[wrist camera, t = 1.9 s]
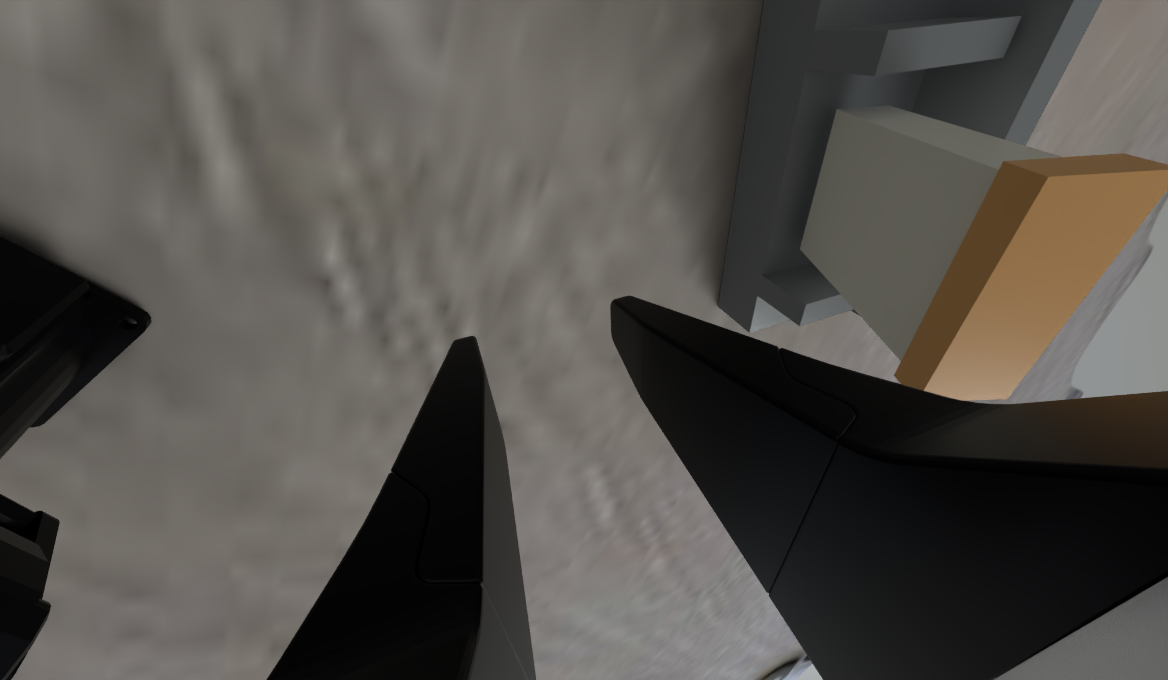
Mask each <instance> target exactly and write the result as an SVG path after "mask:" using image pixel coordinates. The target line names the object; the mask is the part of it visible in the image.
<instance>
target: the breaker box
mask: <svg viewBox="0 0 1168 680" xmlns="http://www.w3.org/2000/svg"><path fill="white" fill-rule="evenodd" d="M1101 2H1102V0H764V4H763V10H762V17H761V23H760V30H759V37H758V43H757V50H756V57H755V63H754V70H753V77H752V83H751V90H750V97H749V103H748V110H747V117H746V123H745V130H744V136H743V143H742V150H741V156H740V163H739V170H738V176H737V183H736V190H735V196H734V203H733V210H732V216H731V223H730V230H729V236H728V243H727V249H726V256H725V263H724V269H723V276H722V283H721V289H720V296H719V303H718V307H719V308H720V309H722V310H723V311H724V312H725V313H726V314H728V315H729V316H730V317H731V318H732V319H734V320H735V321H736V322H737V323H738V324H740V325H741V326H742V327H743V328H744V329H746V330H747V331H748V332H749V333H751V332H754V331H757V330H761V329H764V328H767V327H771V326H774V325H777V324H781V323H784V322H787V321H790V320H792V321H793V322H795V323H796V324H797V325H799V326H802V325H805V324H808V323H812V322H815V321H818V320H821V319H824V318H828V317H831V316H834V315H837V314H841V313H844V312H847V311H850V310H851V311H853V312H854V313H856V314H858V313H857V312H856V311H855V310H854V308H853V307H852V306H851V305H850V304H849V303H848V302H847V301H846V300H845V298H844V297H843V296H842V295H841V294H840V293H839V292H838V291H837V290H836V289H835V287H834V286H833V285H832V284H831V283H830V282H829V281H828V280H827V279H826V277H825V276H824V275H823V274H822V273H821V272H820V271H819V270H818V269H817V267H816V266H815V265H814V264H813V263H812V262H811V261H810V260H809V259H808V258H807V256H806V255H805V254H804V253H803V252H802V251H801V250H800V246H801V242H802V239H803V235H804V231H805V227H806V224H807V220H808V216H809V212H810V208H811V205H812V201H813V197H814V193H815V189H816V186H817V182H818V178H819V174H820V170H821V167H822V163H823V159H824V155H825V152H826V148H827V144H828V140H829V136H830V133H831V129H832V125H833V121H834V117H835V114H836V110H837V109H845V108H859V107H873V106H888V105H889V106H893V107H896V108H899V109H903V110H906V111H909V112H913V113H916V114H920V115H923V116H926V117H930V118H933V119H936V120H940V121H943V122H947V123H950V124H953V125H957V126H960V127H963V128H967V129H970V130H974V131H977V132H980V133H984V134H987V135H990V136H994V137H997V138H1001V139H1004V140H1007V141H1011V142H1014V143H1017V144H1021V145H1024V146H1025V145H1026V143H1027V141H1028V140H1029V138H1030V136H1031V134H1032V132H1033V130H1034V128H1035V126H1036V124H1037V123H1038V121H1039V119H1040V117H1041V115H1042V113H1043V111H1044V109H1045V107H1046V106H1047V104H1048V102H1049V100H1050V98H1051V96H1052V94H1053V92H1054V90H1055V88H1056V87H1057V85H1058V83H1059V81H1060V79H1061V77H1062V75H1063V73H1064V71H1065V70H1066V68H1067V66H1068V64H1069V62H1070V60H1071V58H1072V56H1073V54H1074V53H1075V51H1076V49H1077V47H1078V45H1079V43H1080V41H1081V39H1082V37H1083V36H1084V34H1085V32H1086V30H1087V28H1088V26H1089V24H1090V22H1091V20H1092V19H1093V17H1094V15H1095V13H1096V11H1097V9H1098V7H1099V5H1100V3H1101ZM858 315H859V314H858ZM859 316H860V315H859Z"/></svg>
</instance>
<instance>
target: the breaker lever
mask: <svg viewBox="0 0 1168 680" xmlns="http://www.w3.org/2000/svg"><path fill="white" fill-rule="evenodd" d="M1167 189H1168V165H1167V164H1163V163H1159V162H1155V161H1151V160H1147V159H1143V158H1139V157H1136V156H1132V155H1128V154H1108V155H1092V156H1076V157H1061V156H1058V155H1055V154H1051V153H1048V152H1044V151H1041V150H1038V149H1034V148H1031V147H1028V146H1024V145H1021V144H1017V143H1014V142H1011V141H1007V140H1004V139H1001V138H997V137H994V136H990V135H987V134H984V133H980V132H977V131H974V130H970V129H967V128H963V127H960V126H957V125H953V124H950V123H947V122H943V121H940V120H936V119H933V118H930V117H926V116H923V115H920V114H916V113H913V112H909V111H906V110H903V109H899V108H896V107H893V106H889V105H888V106H873V107H859V108H845V109H837V110H836V114H835V117H834V121H833V125H832V129H831V133H830V136H829V140H828V144H827V148H826V152H825V155H824V159H823V163H822V167H821V170H820V174H819V178H818V182H817V186H816V189H815V193H814V197H813V201H812V205H811V208H810V212H809V216H808V220H807V224H806V227H805V231H804V235H803V239H802V242H801V246H800V250H801V251H802V252H803V253H804V254H805V255H806V256H807V258H808V259H809V260H810V261H811V262H812V263H813V264H814V265H815V266H816V267H817V269H818V270H819V271H820V272H821V273H822V274H823V275H824V276H825V277H826V279H827V280H828V281H829V282H830V283H831V284H832V285H833V286H834V287H835V289H836V290H837V291H838V292H839V293H840V294H841V295H842V296H843V297H844V298H845V300H846V301H847V302H848V303H849V304H850V305H851V306H852V307H853V308H854V310H855V311H856V312H857V313H858V314H859V315H860V316H861V317H862V318H863V320H864V321H865V322H866V323H867V324H868V325H869V326H870V327H871V328H872V329H873V331H874V332H875V333H876V334H877V335H878V336H879V337H880V338H881V339H882V341H883V342H884V343H885V344H886V345H887V346H888V347H889V348H890V349H891V351H892V352H893V353H894V354H895V355H896V356H897V357H898V358H899V359H900V360H901V363H900V365H899V367H898V369H897V371H896V373H895V374H894V376H895V377H896V378H897V380H898V381H899V382H900V383H901V384H902V385H905V386H909V387H913V388H916V389H920V390H923V391H927V392H931V393H934V394H938V395H941V396H945V397H949V398H953V399H957V400H962V401H967V400H995V399H1008V398H1009V396H1010V395H1011V394H1012V392H1013V391H1014V390H1015V388H1016V387H1017V386H1018V384H1019V383H1020V382H1021V381H1022V379H1023V378H1024V377H1025V375H1026V374H1027V373H1028V371H1029V370H1030V369H1031V367H1032V366H1033V365H1034V364H1035V362H1036V361H1037V360H1038V358H1039V357H1040V356H1041V354H1042V353H1043V352H1044V350H1045V349H1046V348H1047V346H1048V345H1049V344H1050V343H1051V341H1052V340H1053V339H1054V337H1055V336H1056V335H1057V333H1058V332H1059V331H1060V329H1061V328H1062V327H1063V326H1064V324H1065V323H1066V322H1067V320H1068V319H1069V318H1070V316H1071V315H1072V314H1073V312H1074V311H1075V310H1076V308H1077V307H1078V306H1079V305H1080V303H1081V302H1082V301H1083V299H1084V298H1085V297H1086V295H1087V294H1088V293H1089V291H1090V290H1091V289H1092V288H1093V286H1094V285H1095V284H1096V282H1097V281H1098V280H1099V278H1100V277H1101V276H1102V274H1103V273H1104V272H1105V270H1106V269H1107V268H1108V267H1109V265H1110V264H1111V263H1112V261H1113V260H1114V259H1115V257H1116V256H1117V255H1118V253H1119V252H1120V251H1121V250H1122V248H1123V247H1124V246H1125V244H1126V243H1127V242H1128V240H1129V239H1130V238H1131V236H1132V235H1133V234H1134V232H1135V231H1136V230H1137V229H1138V227H1139V226H1140V225H1141V223H1142V222H1143V221H1144V219H1145V218H1146V217H1147V215H1148V214H1149V213H1150V212H1151V210H1152V209H1153V208H1154V206H1155V205H1156V204H1157V202H1158V201H1159V200H1160V198H1161V197H1162V196H1163V195H1164V193H1165V192H1166V191H1167Z"/></svg>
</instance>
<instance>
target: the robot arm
mask: <svg viewBox="0 0 1168 680" xmlns="http://www.w3.org/2000/svg"><path fill="white" fill-rule="evenodd" d="M610 309H611V334H612V339H613V342H614V344H615V346H616V348H617V350H618V352H619V354H620V356H621V358H622V360H623V363H624V365H625V367H626V369H627V371H628V373H629V375H630V377H631V379H632V381H633V383H634V385H635V387H636V389H637V391H638V393H639V395H640V397H641V399H642V400H643V402H644V404H645V405H646V407H647V408H648V410H649V412H650V413H651V415H652V416H653V418H654V419H655V421H656V422H657V424H658V425H659V427H660V428H661V430H662V432H663V433H664V435H665V436H666V438H667V439H668V441H669V442H670V444H671V445H672V447H673V449H674V450H675V452H676V453H677V455H678V456H679V458H680V459H681V461H682V462H683V464H684V465H685V467H686V469H687V470H688V472H689V473H690V475H691V476H692V478H693V479H694V481H695V482H696V484H697V486H698V487H699V489H700V490H701V492H702V493H703V495H704V496H705V498H706V499H707V501H708V502H709V504H710V506H711V507H712V509H713V510H714V512H715V513H716V515H717V516H718V518H719V519H720V521H721V522H722V524H723V526H724V527H725V529H726V530H727V532H728V533H729V535H730V536H731V538H732V539H733V541H734V543H735V544H736V546H737V547H738V549H739V550H740V552H741V553H742V555H743V556H744V558H745V559H746V561H747V563H748V564H749V566H750V567H751V569H752V570H753V572H754V573H755V575H756V576H757V578H758V580H759V581H760V583H761V584H762V586H763V587H764V589H765V590H766V592H767V593H769V597H770V598H771V600H772V602H773V603H774V605H775V606H776V608H777V609H778V611H779V612H780V614H781V615H782V617H783V619H784V620H785V622H786V623H787V625H788V626H789V628H790V629H791V631H792V632H793V634H794V635H795V637H796V639H797V640H798V642H799V643H800V645H801V646H802V648H803V649H804V651H805V652H806V654H807V656H808V657H809V659H810V660H811V662H812V663H813V665H814V666H815V668H816V669H817V671H818V672H819V674H820V675H821V677H822V679H823V680H1168V391H1165V392H1152V393H1140V394H1128V395H1116V396H1106V397H1105V396H1104V397H1092V398H1080V399H1069V400H1057V401H1045V402H1033V403H1021V404H985V403H975V402H968V401H962V400H957V399H953V398H949V397H945V396H941V395H938V394H934V393H931V392H927V391H923V390H920V389H916V388H913V387H909V386H905V385H902V384H898V383H895V382H891V381H887V380H884V379H880V378H877V377H873V376H869V375H866V374H862V373H859V372H855V371H852V370H849V369H845V368H842V367H838V366H835V365H831V364H828V363H825V362H822V361H819V360H816V359H813V358H810V357H807V356H804V355H801V354H798V353H795V352H792V351H789V350H786V349H784V348H780V349H779V348H778V347H777V346H775V345H772V344H769V343H766V342H763V341H760V340H757V339H754V338H751V337H749V336H746V335H743V334H740V333H737V332H734V331H731V330H728V329H725V328H723V327H720V326H717V325H714V324H711V323H708V322H705V321H702V320H699V319H696V318H694V317H691V316H688V315H685V314H682V313H679V312H676V311H673V310H670V309H668V308H665V307H662V306H659V305H656V304H653V303H650V302H647V301H644V300H642V299H639V298H636V297H633V296H625V297H621V298H617V299H614V300H613V301H612V302H611V307H610ZM123 317H128V318H131V319H133V320H135V321H136V322H137V324H132V323H129V322H127V321H126V320H124V318H123ZM150 324H151V317H150V315H149V314H148V313H147V312H146V311H144V310H143V309H141V308H139V307H137V306H135V305H133V304H131V303H129V302H127V301H125V300H123V299H121V298H119V297H117V296H115V295H113V294H111V293H110V292H108V291H106V290H104V289H102V288H100V287H98V286H96V285H94V284H92V283H90V282H88V281H86V280H84V279H83V278H81V277H79V276H77V275H75V274H73V273H72V272H70V271H68V270H66V269H64V268H62V267H60V266H58V265H56V264H54V263H52V262H50V261H48V260H46V259H44V258H42V257H40V256H38V255H36V254H34V253H32V252H30V251H28V250H26V249H24V248H22V247H20V246H18V245H16V244H14V243H12V242H10V241H8V240H6V239H4V238H2V237H0V459H1V458H2V457H3V456H4V454H5V453H6V452H7V451H8V450H9V449H10V448H11V447H12V446H13V445H14V444H15V442H16V441H17V440H18V439H19V438H20V437H21V436H22V435H23V434H24V433H25V432H26V430H27V429H28V428H29V427H37V426H41V425H42V424H44V423H45V422H46V421H48V420H49V419H50V418H51V417H52V416H53V415H54V414H55V413H56V412H57V411H58V410H60V409H61V408H62V407H63V406H64V405H65V404H66V403H67V402H68V401H69V400H70V399H71V398H73V397H74V396H75V395H76V394H77V393H78V392H79V391H80V390H81V389H82V388H83V387H85V386H86V385H87V384H88V383H89V382H90V381H91V380H92V379H93V378H94V377H95V376H97V375H98V374H99V373H100V372H101V371H102V370H103V369H104V368H105V367H106V366H107V365H108V364H110V363H111V362H112V361H113V360H114V359H115V358H116V357H117V356H118V355H119V354H120V353H122V352H123V351H124V350H125V349H126V348H127V347H128V346H129V345H130V344H131V343H132V342H134V341H135V340H136V339H137V338H138V337H139V336H140V335H141V334H142V333H143V332H144V331H145V330H146V329H147V328H148V327H149V325H150ZM391 472H392V473H389V474H388V476H387V479H386V481H385V483H384V485H383V487H382V489H381V491H380V493H379V495H378V497H377V499H376V501H375V503H374V504H373V506H372V508H371V510H370V512H369V514H368V516H367V518H366V520H365V522H364V524H363V525H362V527H361V529H360V530H359V532H358V534H357V535H356V537H355V539H354V540H353V542H352V544H351V546H350V547H349V549H348V551H347V552H346V554H345V556H344V557H343V559H342V561H341V562H340V564H339V566H338V567H337V569H336V570H335V572H334V574H333V575H332V577H331V578H330V580H329V582H328V583H327V585H326V586H325V588H324V590H323V591H322V593H321V594H320V596H319V598H318V599H317V601H316V602H315V604H314V606H313V607H312V609H311V610H310V612H309V613H308V615H307V617H306V618H305V620H304V621H303V623H302V625H301V626H300V628H299V629H298V631H297V633H296V634H295V636H294V637H293V639H292V641H291V642H290V644H289V645H288V647H287V649H286V650H285V652H284V653H283V655H282V657H281V658H280V660H279V661H278V663H277V664H276V666H275V667H274V669H273V671H272V672H271V674H270V675H269V677H268V678H267V680H536V675H535V667H534V659H533V652H532V644H531V637H530V629H529V622H528V614H527V607H526V599H525V591H524V584H523V576H522V569H521V561H520V554H519V546H518V539H517V531H516V524H515V516H514V508H513V501H512V493H511V486H510V478H509V471H508V463H507V456H506V449H505V443H504V438H503V434H502V430H501V426H500V423H499V419H498V415H497V412H496V408H495V404H494V401H493V397H492V393H491V390H490V386H489V382H488V379H487V375H486V371H485V368H484V364H483V361H482V357H481V354H480V350H479V346H478V343H477V339H476V337H475V336H469V337H465V338H461V339H457V340H455V341H454V342H453V343H452V345H451V347H450V349H449V351H448V353H447V355H446V358H445V360H444V362H443V364H442V366H441V368H440V370H439V372H438V374H437V376H436V378H435V380H434V382H433V384H432V386H431V388H430V391H429V393H428V395H427V397H426V399H425V401H424V403H423V405H422V407H421V409H420V411H419V413H418V415H417V417H416V419H415V421H414V423H413V426H412V428H411V430H410V432H409V434H408V436H407V438H406V440H405V442H404V444H403V446H402V448H401V450H400V452H399V454H398V456H397V459H396V461H395V463H394V465H393V467H392V469H391ZM59 523H60V522H59V520H58V519H56V518H54V517H52V516H50V515H48V514H47V513H45V512H43V511H37V512H33V511H31V510H30V509H28V508H26V507H24V506H22V505H20V504H18V503H16V502H15V501H13V500H11V499H9V498H7V497H5V496H3V495H2V494H0V680H11V679H12V678H13V676H14V675H15V673H16V671H17V670H18V668H19V666H20V665H21V663H22V661H23V660H24V658H25V656H26V655H27V652H28V651H29V649H30V648H31V646H32V645H33V643H34V641H35V640H36V638H37V636H38V634H39V633H40V631H41V629H42V627H43V626H44V624H45V622H46V621H47V618H48V615H49V612H50V608H51V605H50V603H49V602H47V601H44V600H42V597H43V593H44V589H45V584H46V580H47V575H48V571H49V567H50V562H51V558H52V554H53V549H54V545H55V540H56V536H57V532H58V527H59Z"/></svg>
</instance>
